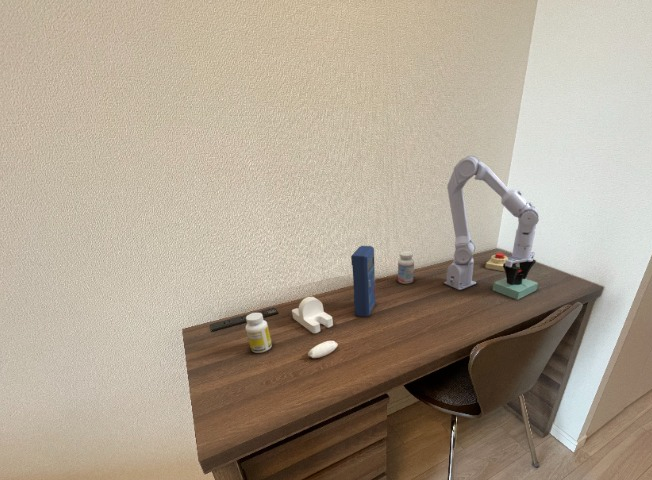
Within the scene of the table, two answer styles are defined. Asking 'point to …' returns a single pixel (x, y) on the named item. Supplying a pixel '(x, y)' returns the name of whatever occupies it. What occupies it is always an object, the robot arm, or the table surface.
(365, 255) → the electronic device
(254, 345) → the supplement bottle
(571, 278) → the table surface
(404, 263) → the pill bottle
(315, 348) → the white spindle
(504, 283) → the dial panel
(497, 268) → the control block
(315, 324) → the slotted bracket
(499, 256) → the button
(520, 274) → the dial
